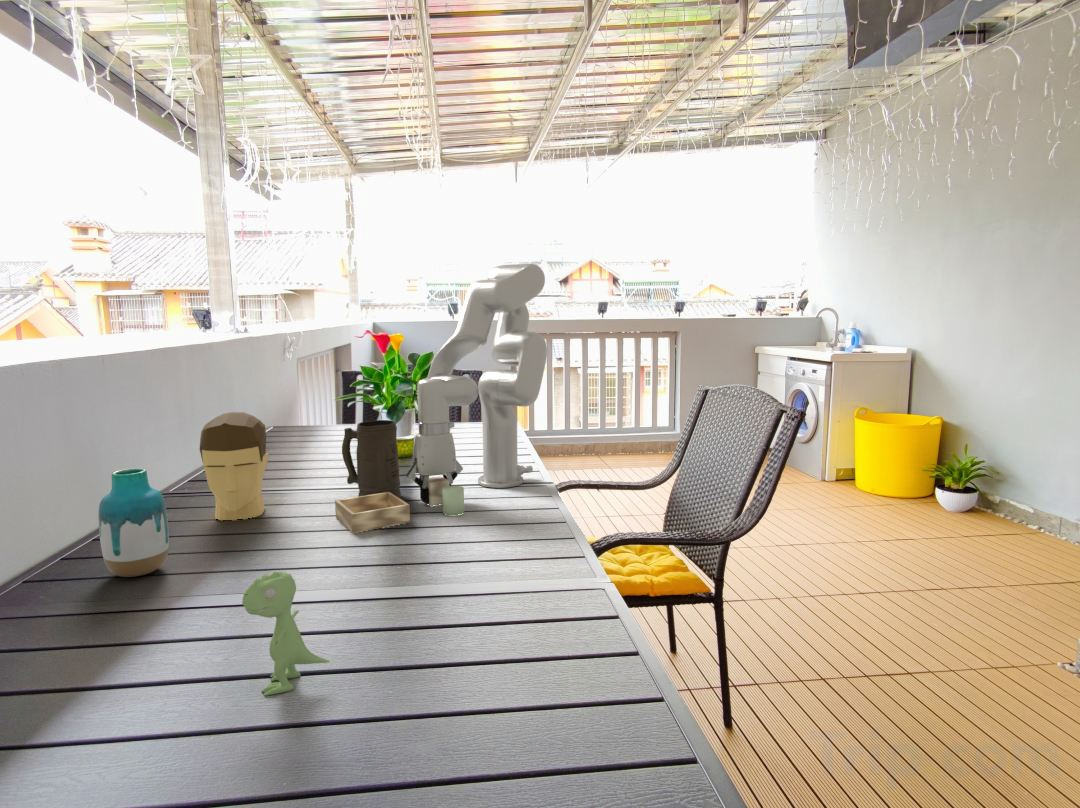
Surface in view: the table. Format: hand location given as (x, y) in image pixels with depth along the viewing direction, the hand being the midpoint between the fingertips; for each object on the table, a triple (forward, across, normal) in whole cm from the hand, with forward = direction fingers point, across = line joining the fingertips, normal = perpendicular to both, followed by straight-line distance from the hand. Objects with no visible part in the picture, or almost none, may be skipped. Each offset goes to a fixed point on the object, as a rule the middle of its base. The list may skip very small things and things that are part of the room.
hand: (436, 499), depth 164 cm
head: (+1, +43, -16) cm, 46 cm away
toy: (+1, +49, +64) cm, 81 cm away
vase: (+1, +64, +11) cm, 65 cm away
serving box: (+1, +18, +5) cm, 19 cm away
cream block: (+1, 0, 0) cm, 1 cm away
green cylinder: (+1, 0, +10) cm, 10 cm away
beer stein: (+1, +12, -14) cm, 18 cm away
